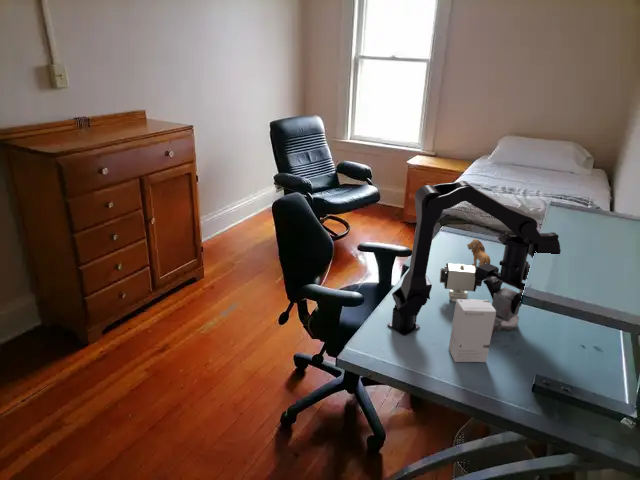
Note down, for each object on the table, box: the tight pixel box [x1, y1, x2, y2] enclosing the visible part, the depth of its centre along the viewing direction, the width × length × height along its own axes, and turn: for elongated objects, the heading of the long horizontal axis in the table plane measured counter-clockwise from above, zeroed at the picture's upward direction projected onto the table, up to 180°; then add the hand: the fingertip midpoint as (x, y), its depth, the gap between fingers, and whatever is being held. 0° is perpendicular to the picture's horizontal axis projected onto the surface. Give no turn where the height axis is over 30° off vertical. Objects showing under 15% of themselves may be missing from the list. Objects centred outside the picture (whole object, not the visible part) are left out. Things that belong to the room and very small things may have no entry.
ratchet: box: [491, 314, 520, 338], centre depth 126 cm, size 19×8×6 cm, turn 128°
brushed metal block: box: [491, 286, 520, 320], centre depth 128 cm, size 5×5×6 cm
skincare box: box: [448, 298, 496, 363], centre depth 115 cm, size 8×6×15 cm
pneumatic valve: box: [439, 263, 483, 303], centre depth 140 cm, size 6×12×12 cm, turn 78°
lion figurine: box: [466, 238, 491, 267], centre depth 159 cm, size 15×5×9 cm, turn 11°
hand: (504, 309), depth 129 cm, fingers closed on brushed metal block, 5 cm apart
